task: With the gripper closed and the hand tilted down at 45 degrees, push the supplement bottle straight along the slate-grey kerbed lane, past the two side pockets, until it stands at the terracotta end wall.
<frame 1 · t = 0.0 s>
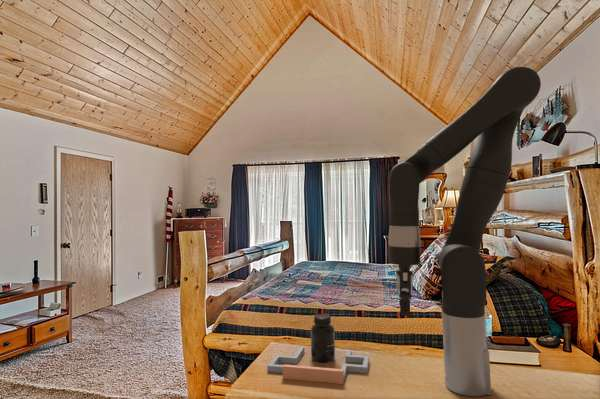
hand: (404, 310, 87), 17 cm above the table, tool pointing down, fingers open, 8 cm apart
supplement bottle: (323, 359, 102), on the table
trap box: (319, 365, 97), on the table
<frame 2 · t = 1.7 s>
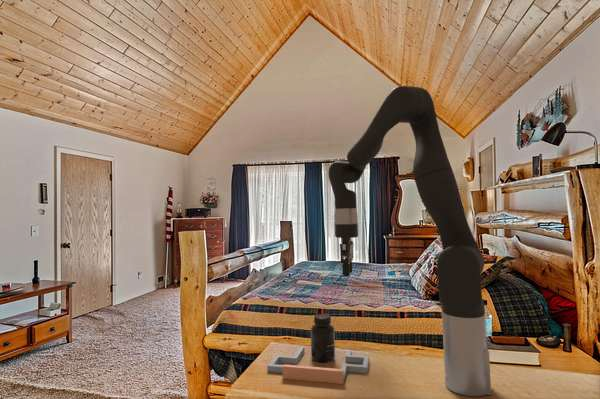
hand: (347, 274, 115), 22 cm above the table, tool pointing down, fingers open, 6 cm apart
nothing on the table moved.
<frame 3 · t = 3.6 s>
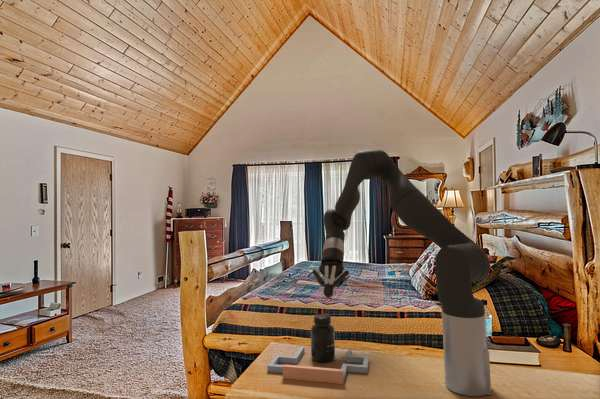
hand: (328, 296, 113), 15 cm above the table, tool tilted 45°, fingers closed
nothing on the table moved.
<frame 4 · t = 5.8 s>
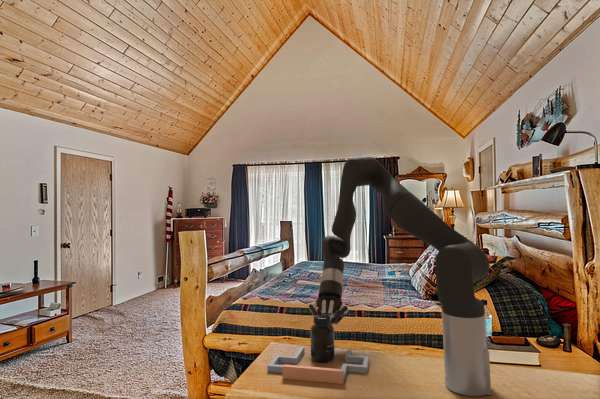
hand: (325, 335, 106), 5 cm above the table, tool tilted 45°, fingers closed
supplement bottle: (323, 359, 102), on the table, touching gripper
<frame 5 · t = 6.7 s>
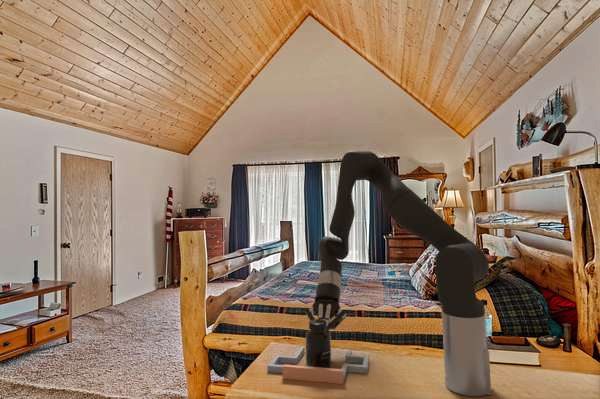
hand: (321, 341, 101), 5 cm above the table, tool tilted 45°, fingers closed
supplement bottle: (318, 366, 97), on the table, touching gripper
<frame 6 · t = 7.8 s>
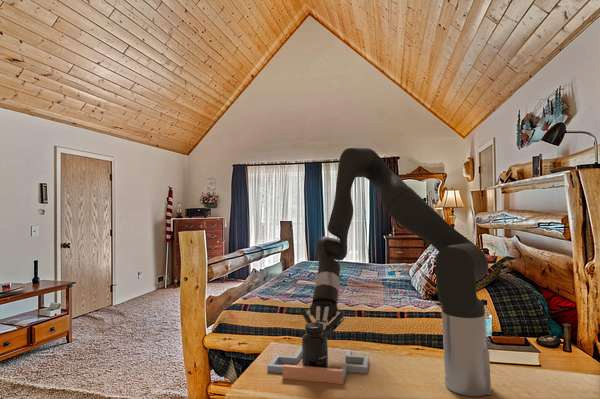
hand: (319, 344, 98), 5 cm above the table, tool tilted 45°, fingers closed
supplement bottle: (315, 371, 94), on the table, touching gripper
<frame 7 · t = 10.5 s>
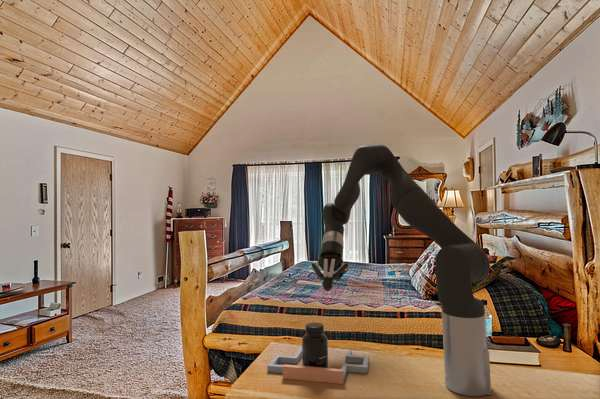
hand: (327, 289, 112), 18 cm above the table, tool tilted 45°, fingers closed
supplement bottle: (315, 371, 94), on the table
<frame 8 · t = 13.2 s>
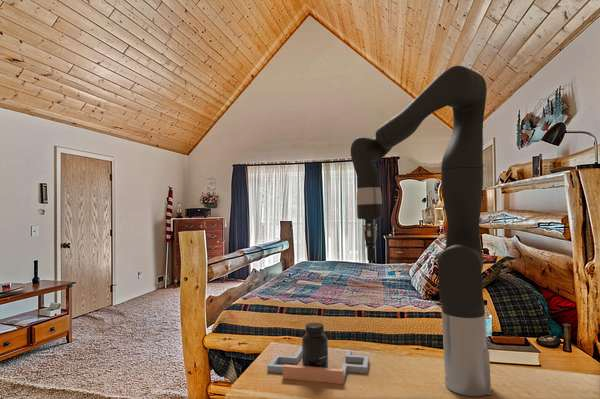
hand: (371, 260, 107), 27 cm above the table, tool pointing down, fingers closed
nothing on the table moved.
at the end: supplement bottle inside the target area (1.1 cm from its centre), on the table; supplement bottle tilted 0°; supplement bottle moved 8.3 cm from its start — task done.
